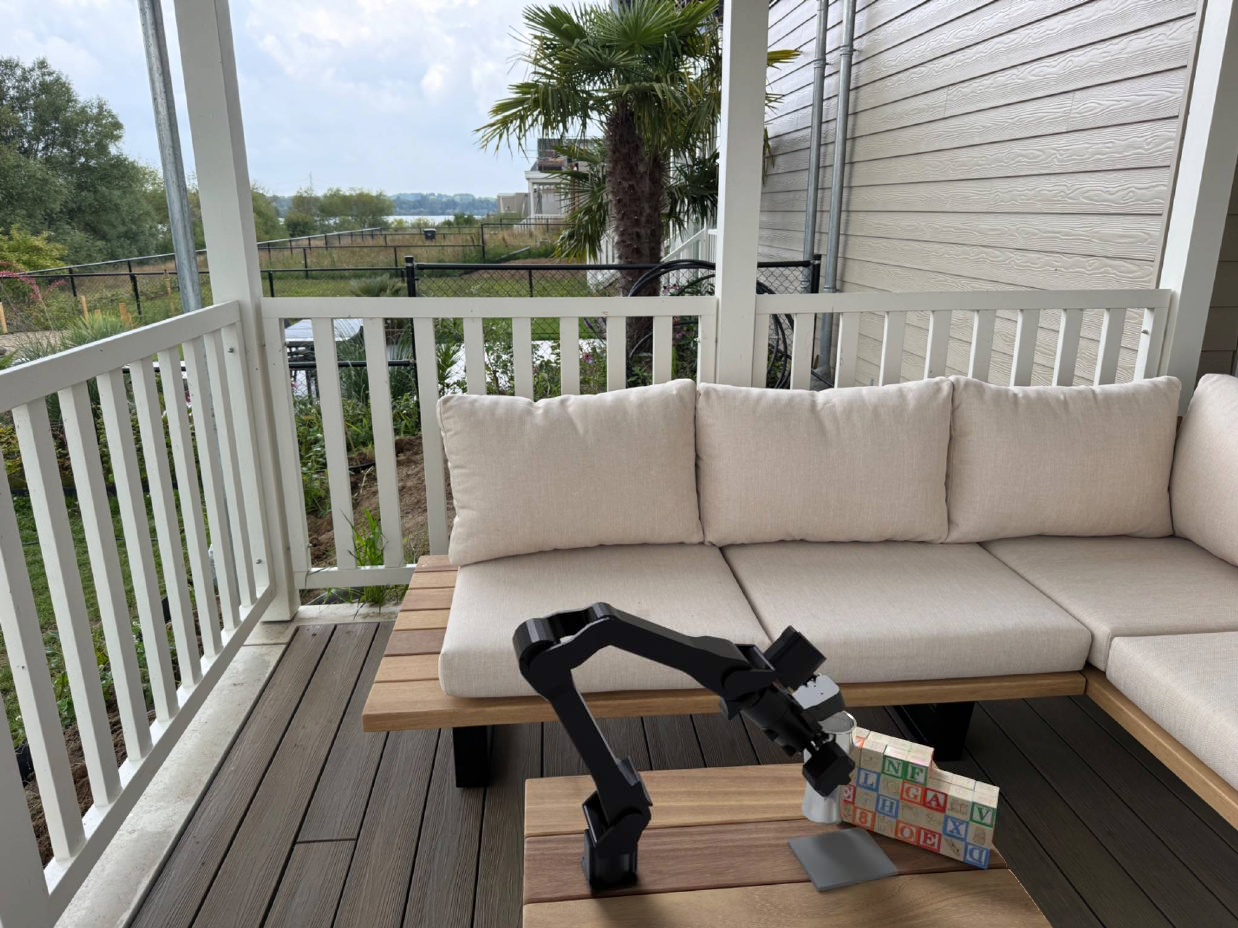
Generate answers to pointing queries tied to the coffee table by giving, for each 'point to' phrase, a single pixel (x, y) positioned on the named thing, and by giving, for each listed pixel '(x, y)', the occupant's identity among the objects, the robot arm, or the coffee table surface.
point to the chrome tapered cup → (832, 806)
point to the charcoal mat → (841, 858)
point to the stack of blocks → (919, 799)
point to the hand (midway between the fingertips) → (836, 767)
